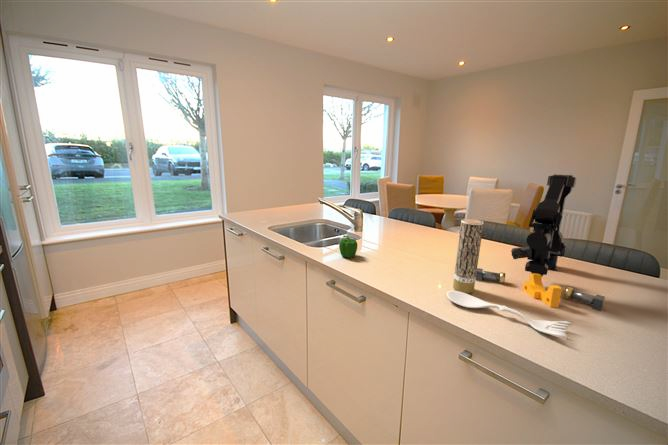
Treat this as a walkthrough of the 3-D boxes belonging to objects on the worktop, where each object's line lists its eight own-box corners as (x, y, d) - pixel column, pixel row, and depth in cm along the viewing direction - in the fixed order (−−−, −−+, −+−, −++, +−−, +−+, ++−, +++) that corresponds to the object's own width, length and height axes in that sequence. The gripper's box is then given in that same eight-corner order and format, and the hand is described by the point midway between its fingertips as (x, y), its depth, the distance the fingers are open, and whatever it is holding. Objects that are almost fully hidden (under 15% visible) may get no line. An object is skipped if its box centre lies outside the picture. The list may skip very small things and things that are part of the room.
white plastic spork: (565, 347, 73) (567, 335, 73) (441, 303, 95) (442, 293, 94) (569, 332, 80) (572, 321, 79) (452, 293, 101) (453, 284, 100)
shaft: (562, 299, 97) (565, 288, 96) (565, 295, 100) (568, 285, 99) (601, 311, 90) (604, 299, 90) (603, 306, 93) (605, 295, 92)
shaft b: (503, 281, 111) (505, 271, 111) (504, 285, 108) (505, 275, 107) (475, 276, 116) (477, 266, 115) (475, 280, 112) (476, 270, 111)
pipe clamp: (522, 289, 104) (525, 272, 103) (535, 290, 104) (538, 273, 103) (544, 306, 93) (547, 288, 91) (558, 307, 92) (562, 288, 91)
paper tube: (449, 285, 107) (457, 218, 101) (467, 285, 107) (476, 218, 101) (458, 294, 100) (467, 223, 94) (477, 294, 101) (488, 223, 95)
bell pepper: (360, 255, 138) (361, 235, 135) (351, 260, 131) (352, 239, 129) (344, 252, 142) (345, 232, 140) (335, 257, 135) (336, 236, 133)
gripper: (518, 233, 115) (512, 270, 118) (511, 244, 100) (504, 286, 104) (553, 238, 108) (545, 277, 112) (551, 251, 94) (542, 295, 98)
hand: (534, 283), depth 107 cm, fingers closed
